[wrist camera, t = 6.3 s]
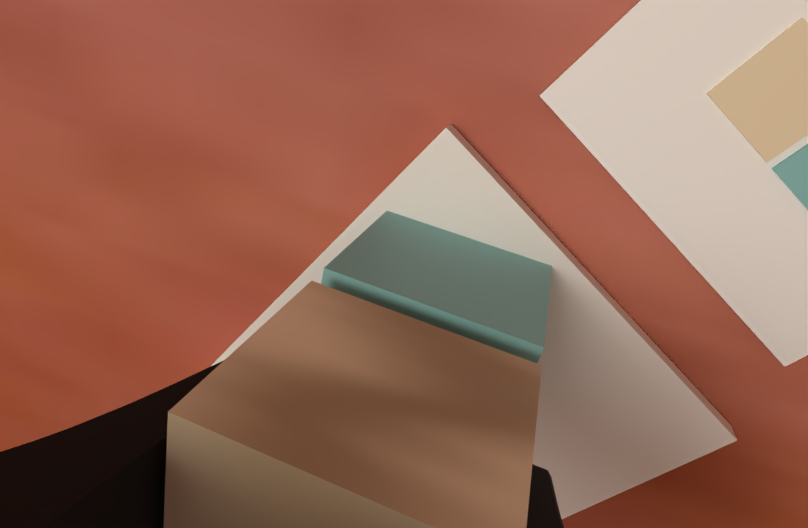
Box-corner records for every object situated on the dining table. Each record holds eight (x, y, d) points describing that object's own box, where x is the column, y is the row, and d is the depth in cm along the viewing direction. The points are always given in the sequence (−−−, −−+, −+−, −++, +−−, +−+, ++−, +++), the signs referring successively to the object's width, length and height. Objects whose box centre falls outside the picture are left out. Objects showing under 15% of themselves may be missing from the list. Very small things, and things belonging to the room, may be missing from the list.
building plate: (731, 425, 14) (737, 440, 14) (400, 579, 20) (396, 593, 20) (451, 124, 13) (446, 127, 13) (195, 382, 19) (185, 391, 19)
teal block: (551, 265, 13) (544, 347, 10) (497, 399, 15) (474, 507, 12) (387, 210, 14) (323, 267, 10) (355, 345, 16) (293, 431, 12)
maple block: (541, 364, 9) (523, 566, 6) (469, 529, 11) (421, 753, 8) (310, 280, 10) (168, 411, 6) (282, 448, 12) (160, 619, 8)
